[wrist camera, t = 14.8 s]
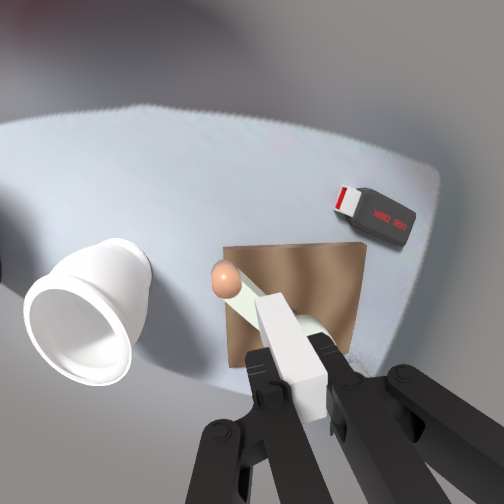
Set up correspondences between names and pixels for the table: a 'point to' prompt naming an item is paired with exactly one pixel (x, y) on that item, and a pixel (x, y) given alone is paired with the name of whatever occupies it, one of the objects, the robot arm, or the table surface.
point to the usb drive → (376, 214)
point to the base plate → (299, 288)
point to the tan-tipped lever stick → (250, 296)
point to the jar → (91, 311)
